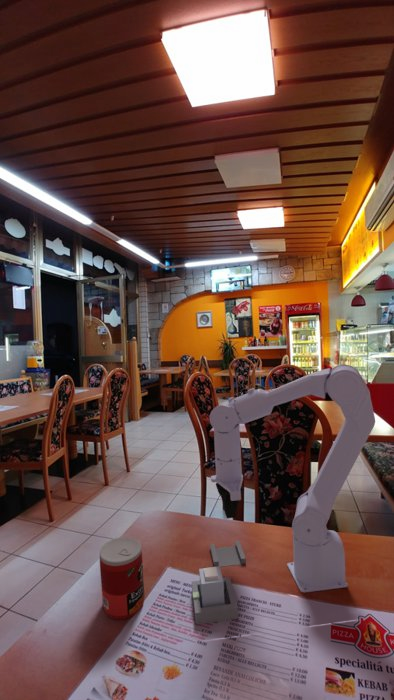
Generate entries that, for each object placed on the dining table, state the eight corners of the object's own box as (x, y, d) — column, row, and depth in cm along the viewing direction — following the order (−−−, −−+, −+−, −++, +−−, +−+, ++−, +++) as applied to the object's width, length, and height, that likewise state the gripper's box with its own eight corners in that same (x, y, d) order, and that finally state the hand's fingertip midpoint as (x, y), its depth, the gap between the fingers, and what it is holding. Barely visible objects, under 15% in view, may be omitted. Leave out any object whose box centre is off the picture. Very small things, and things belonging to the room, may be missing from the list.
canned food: (136, 623, 60) (132, 564, 60) (95, 618, 62) (91, 560, 61) (150, 591, 68) (147, 538, 67) (113, 586, 70) (110, 535, 69)
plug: (221, 596, 66) (219, 563, 65) (225, 612, 62) (223, 578, 61) (200, 598, 65) (198, 565, 65) (203, 615, 61) (201, 580, 61)
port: (230, 587, 68) (229, 575, 68) (238, 619, 60) (237, 606, 60) (191, 592, 67) (191, 580, 67) (195, 625, 59) (194, 611, 59)
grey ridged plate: (239, 546, 81) (239, 540, 80) (245, 564, 74) (245, 558, 74) (210, 549, 80) (210, 543, 80) (214, 568, 74) (214, 562, 73)
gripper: (206, 447, 82) (208, 501, 82) (215, 471, 67) (218, 537, 68) (234, 444, 82) (237, 499, 83) (249, 468, 68) (252, 534, 69)
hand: (230, 516), depth 76 cm, fingers closed
